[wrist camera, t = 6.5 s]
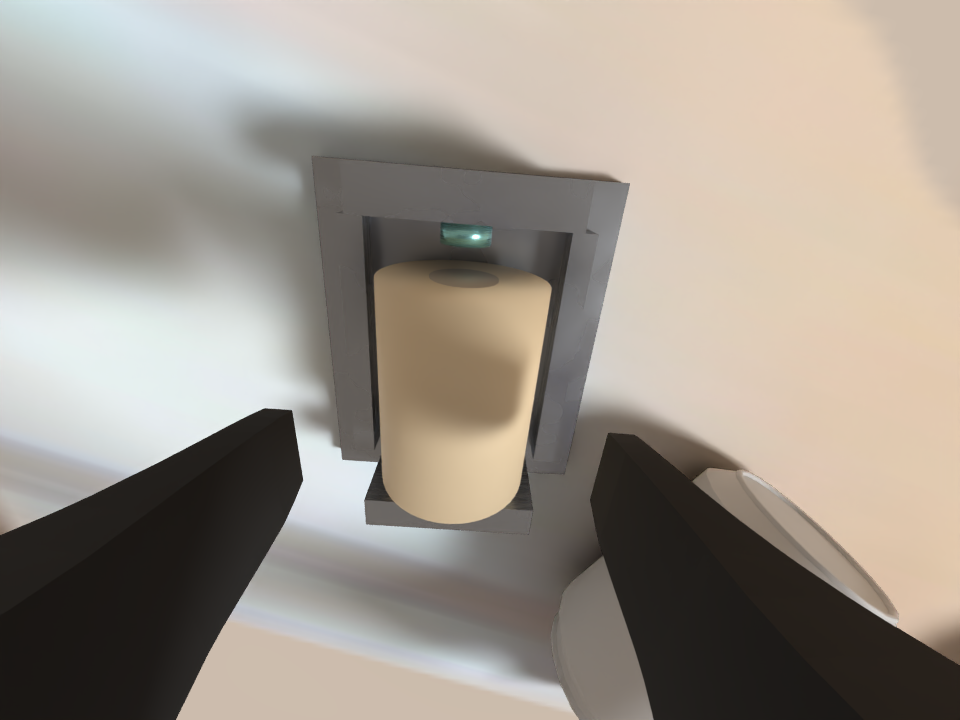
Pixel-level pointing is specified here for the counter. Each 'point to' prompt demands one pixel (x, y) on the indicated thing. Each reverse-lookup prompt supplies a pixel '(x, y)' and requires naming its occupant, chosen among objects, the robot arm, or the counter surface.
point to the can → (601, 626)
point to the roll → (456, 383)
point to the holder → (465, 237)
